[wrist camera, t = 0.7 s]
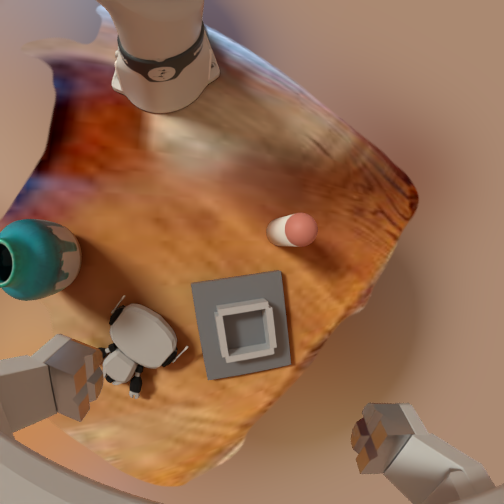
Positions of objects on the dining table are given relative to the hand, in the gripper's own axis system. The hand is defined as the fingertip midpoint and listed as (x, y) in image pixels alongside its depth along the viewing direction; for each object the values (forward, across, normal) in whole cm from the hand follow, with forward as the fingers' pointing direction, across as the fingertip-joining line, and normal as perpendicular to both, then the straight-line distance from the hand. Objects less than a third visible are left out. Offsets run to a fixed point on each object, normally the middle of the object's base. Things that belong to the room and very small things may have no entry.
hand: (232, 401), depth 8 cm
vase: (+34, +30, +11) cm, 47 cm away
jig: (+38, -2, +17) cm, 42 cm away
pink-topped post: (+43, -4, +1) cm, 43 cm away
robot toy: (+34, +15, +23) cm, 44 cm away
